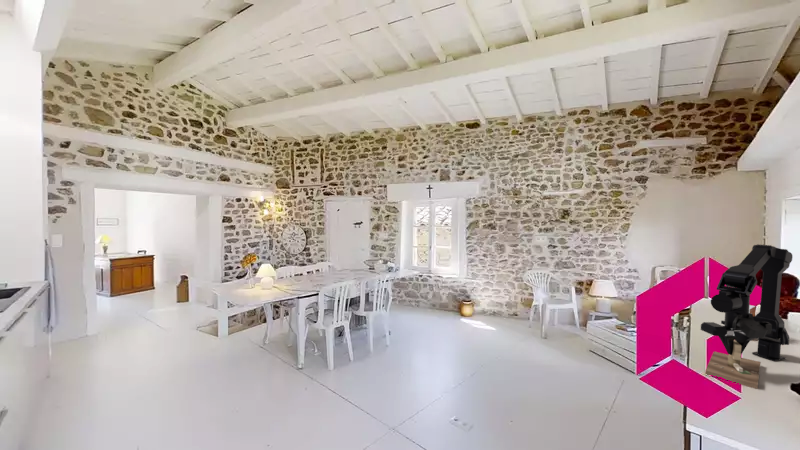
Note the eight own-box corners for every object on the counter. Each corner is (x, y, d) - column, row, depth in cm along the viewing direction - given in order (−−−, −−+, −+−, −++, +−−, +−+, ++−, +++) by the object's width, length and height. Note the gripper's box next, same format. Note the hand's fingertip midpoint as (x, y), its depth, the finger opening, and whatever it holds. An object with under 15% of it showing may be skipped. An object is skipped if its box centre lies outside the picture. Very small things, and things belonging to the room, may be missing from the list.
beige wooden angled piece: (724, 362, 122) (726, 339, 121) (736, 363, 120) (737, 340, 120) (734, 372, 114) (736, 347, 114) (746, 373, 113) (748, 349, 113)
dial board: (713, 355, 131) (714, 350, 131) (760, 366, 122) (760, 361, 122) (705, 375, 116) (705, 369, 116) (757, 389, 107) (757, 383, 107)
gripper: (729, 315, 110) (726, 364, 111) (792, 316, 109) (789, 365, 110) (700, 305, 121) (698, 350, 122) (757, 305, 120) (754, 351, 121)
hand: (734, 354), depth 118 cm, fingers closed on beige wooden angled piece, 3 cm apart
